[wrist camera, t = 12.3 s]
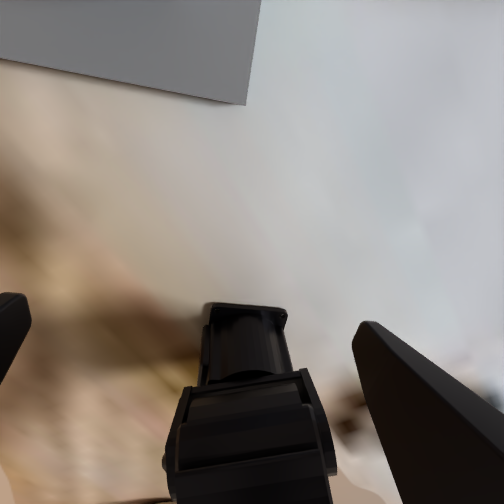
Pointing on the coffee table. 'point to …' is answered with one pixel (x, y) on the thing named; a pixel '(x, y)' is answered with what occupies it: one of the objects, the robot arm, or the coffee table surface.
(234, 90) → the pin plate
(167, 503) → the canister
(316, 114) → the coffee table surface
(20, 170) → the coffee table surface
